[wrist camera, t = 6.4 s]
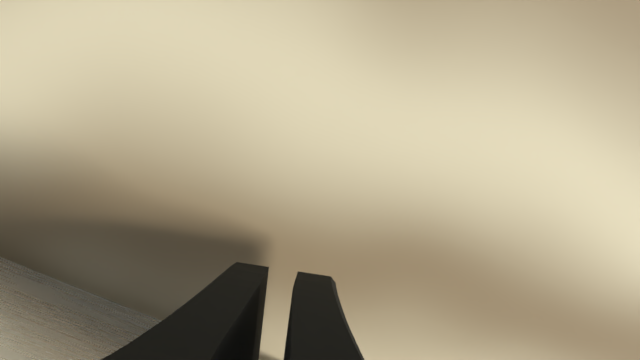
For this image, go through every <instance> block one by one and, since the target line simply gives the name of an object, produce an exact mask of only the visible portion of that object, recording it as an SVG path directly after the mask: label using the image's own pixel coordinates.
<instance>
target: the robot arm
mask: <svg viewBox="0 0 640 360" xmlns="http://www.w3.org/2000/svg"><path fill="white" fill-rule="evenodd" d="M268 271H269V267H266V266H260V265H253V264H247V263H240V262H236V263H234V264H233V265H231V266H230V267H229V268H228V269H226V270H225V271H224V272H223V273H222V274H220V275H219V276H218V277H217V278H216V279H215V280H213V281H212V282H211V283H210V284H209V285H207V286H206V287H205V288H204V289H203V290H201V291H200V292H199V293H198V294H196V295H195V296H194V297H193V298H191V299H190V300H189V301H187V302H186V303H185V304H184V305H182V306H181V307H180V308H178V309H177V310H176V311H174V312H173V313H172V314H171V315H169V316H168V317H166V318H165V319H164V320H162V321H161V322H159V323H158V324H156V325H155V326H153V327H152V328H151V329H149V330H148V331H146V332H145V333H143V334H142V335H140V336H139V337H137V338H136V339H134V340H133V341H131V342H130V343H128V344H127V345H125V346H123V347H122V348H120V349H118V350H117V351H115V352H113V353H112V354H110V355H108V356H106V357H104V358H103V359H101V360H259V352H260V343H261V334H262V325H263V316H264V307H265V298H266V289H267V280H268ZM283 360H364V358H363V356H362V354H361V352H360V349H359V347H358V345H357V343H356V341H355V338H354V336H353V334H352V332H351V330H350V327H349V325H348V322H347V320H346V317H345V315H344V312H343V309H342V306H341V303H340V300H339V297H338V293H337V288H336V283H335V281H334V280H333V279H332V277H331V276H325V275H319V274H312V273H305V272H299V271H298V272H297V276H296V279H295V282H294V286H293V290H292V298H291V306H290V313H289V321H288V329H287V336H286V344H285V352H284V359H283Z"/></svg>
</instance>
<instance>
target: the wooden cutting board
mask: <svg viewBox="0 0 640 360" xmlns="http://www.w3.org/2000/svg"><path fill="white" fill-rule="evenodd" d="M0 257H2V258H5V259H7V260H10V261H12V262H15V263H17V264H20V265H22V266H25V267H27V268H30V269H32V270H35V271H37V272H40V273H42V274H45V275H48V276H50V277H53V278H55V279H58V280H60V281H63V282H65V283H68V284H70V285H73V286H75V287H78V288H80V289H83V290H85V291H88V292H90V293H93V294H95V295H98V296H101V297H103V298H106V299H108V300H111V301H113V302H116V303H118V304H121V305H123V306H126V307H128V308H131V309H133V310H136V311H138V312H141V313H143V314H146V315H148V316H151V317H153V318H156V319H159V320H161V321H162V320H164V319H165V318H166V317H168V316H169V315H171V314H172V313H173V312H174V311H176V310H177V309H178V308H180V307H181V306H182V305H184V304H185V303H186V302H187V301H189V300H190V299H191V298H193V297H194V296H195V295H196V294H198V293H199V292H200V291H201V290H203V289H204V288H205V287H206V286H207V285H209V284H210V283H211V282H212V281H213V280H215V279H216V278H217V277H218V276H219V275H220V274H222V273H223V272H224V271H225V270H226V269H228V268H229V267H230V266H231V265H233V264H234V263H236V262H240V263H247V264H253V265H260V266H266V267H269V271H268V280H267V289H266V298H265V307H264V316H263V325H262V334H261V343H260V352H259V360H283V359H284V352H285V344H286V336H287V329H288V321H289V313H290V306H291V298H292V290H293V286H294V282H295V279H296V276H297V272H298V271H299V272H305V273H312V274H319V275H325V276H331V277H332V279H333V280H334V281H335V283H336V288H337V293H338V297H339V300H340V303H341V306H342V309H343V312H344V315H345V317H346V320H347V322H348V325H349V327H350V330H351V332H352V334H353V336H354V338H355V341H356V343H357V345H358V347H359V349H360V352H361V354H362V356H363V358H364V360H640V0H0Z"/></svg>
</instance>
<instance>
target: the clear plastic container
mask: <svg viewBox="0 0 640 360" xmlns="http://www.w3.org/2000/svg"><path fill="white" fill-rule="evenodd" d="M159 322H161V320H159V319H156V318H153V317H151V316H148V315H146V314H143V313H141V312H138V311H136V310H133V309H131V308H128V307H126V306H123V305H121V304H118V303H116V302H113V301H111V300H108V299H106V298H103V297H101V296H98V295H95V294H93V293H90V292H88V291H85V290H83V289H80V288H78V287H75V286H73V285H70V284H68V283H65V282H63V281H60V280H58V279H55V278H53V277H50V276H48V275H45V274H42V273H40V272H37V271H35V270H32V269H30V268H27V267H25V266H22V265H20V264H17V263H15V262H12V261H10V260H7V259H5V258H2V257H0V360H101V359H103V358H104V357H106V356H108V355H110V354H112V353H113V352H115V351H117V350H118V349H120V348H122V347H123V346H125V345H127V344H128V343H130V342H131V341H133V340H134V339H136V338H137V337H139V336H140V335H142V334H143V333H145V332H146V331H148V330H149V329H151V328H152V327H153V326H155V325H156V324H158V323H159Z"/></svg>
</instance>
